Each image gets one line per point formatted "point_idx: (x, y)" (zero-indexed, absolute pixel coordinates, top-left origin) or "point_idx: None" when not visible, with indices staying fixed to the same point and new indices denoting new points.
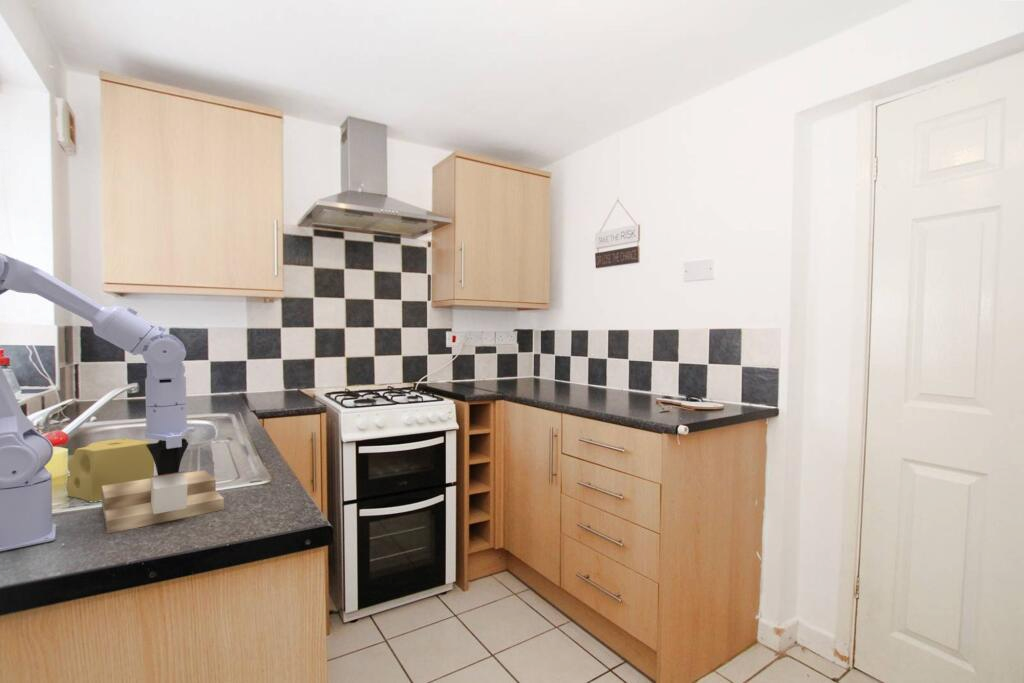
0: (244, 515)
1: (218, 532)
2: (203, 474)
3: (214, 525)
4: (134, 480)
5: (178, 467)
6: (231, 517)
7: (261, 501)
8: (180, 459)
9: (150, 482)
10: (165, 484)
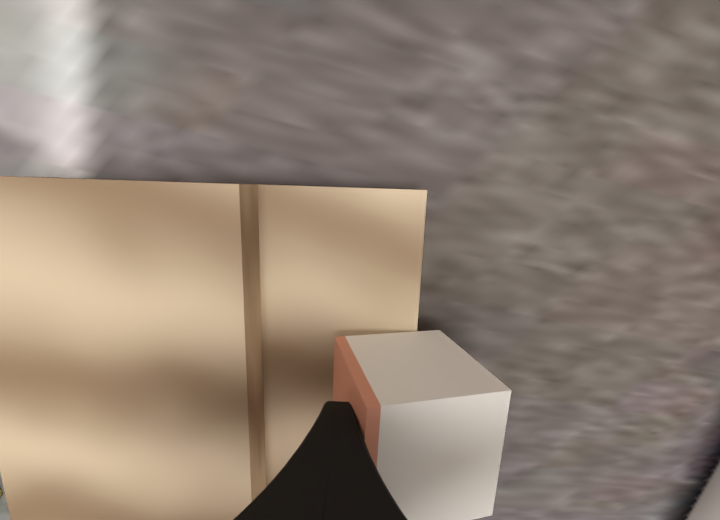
0: (556, 148)
1: (663, 267)
2: (59, 205)
3: (579, 260)
4: None
5: (370, 457)
6: (539, 192)
7: (419, 30)
8: (395, 502)
9: (81, 424)
10: (470, 479)
